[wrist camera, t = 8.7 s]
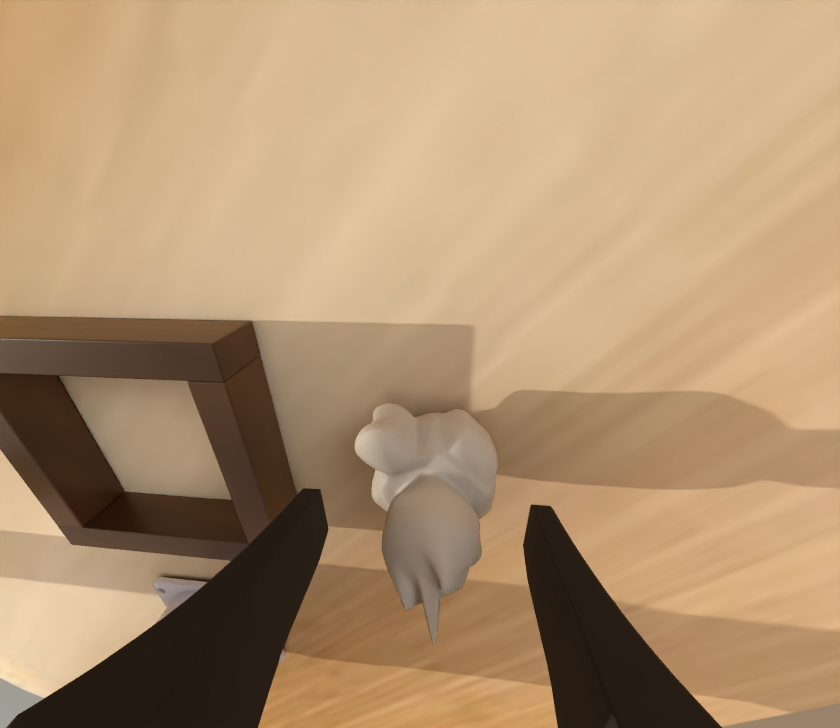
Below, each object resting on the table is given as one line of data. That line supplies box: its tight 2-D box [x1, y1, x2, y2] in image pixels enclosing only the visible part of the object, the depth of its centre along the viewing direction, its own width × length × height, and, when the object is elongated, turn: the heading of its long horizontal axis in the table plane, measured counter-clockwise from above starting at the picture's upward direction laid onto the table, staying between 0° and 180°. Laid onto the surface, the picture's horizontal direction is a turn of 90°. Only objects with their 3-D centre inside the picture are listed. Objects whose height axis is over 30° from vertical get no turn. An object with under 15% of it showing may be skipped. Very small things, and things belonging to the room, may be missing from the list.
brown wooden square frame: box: [0, 316, 296, 561], centre depth 16 cm, size 13×13×2 cm
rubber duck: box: [355, 403, 498, 645], centre depth 12 cm, size 5×7×8 cm
